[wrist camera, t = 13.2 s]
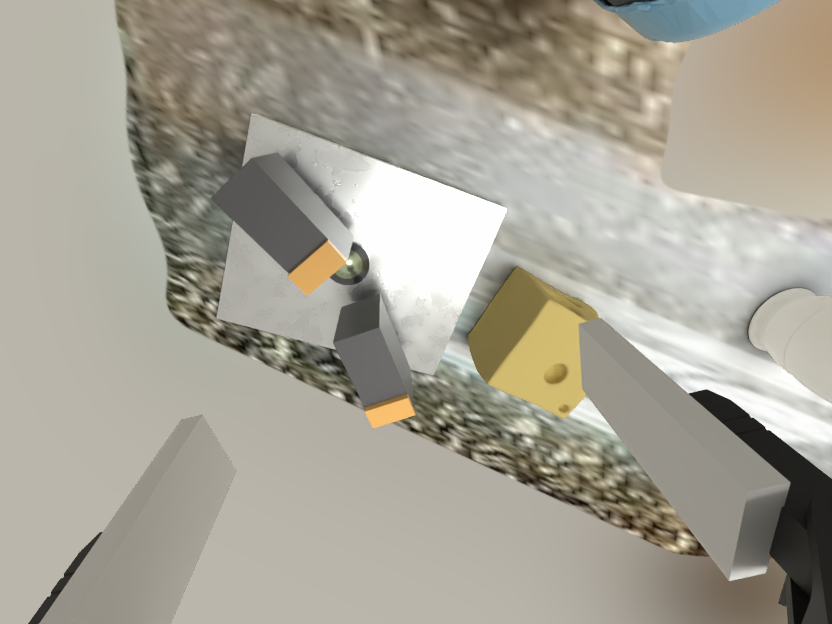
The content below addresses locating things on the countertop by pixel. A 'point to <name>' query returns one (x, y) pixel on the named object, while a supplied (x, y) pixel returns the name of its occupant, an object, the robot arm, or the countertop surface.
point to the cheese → (532, 343)
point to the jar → (798, 336)
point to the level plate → (365, 248)
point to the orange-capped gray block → (375, 361)
